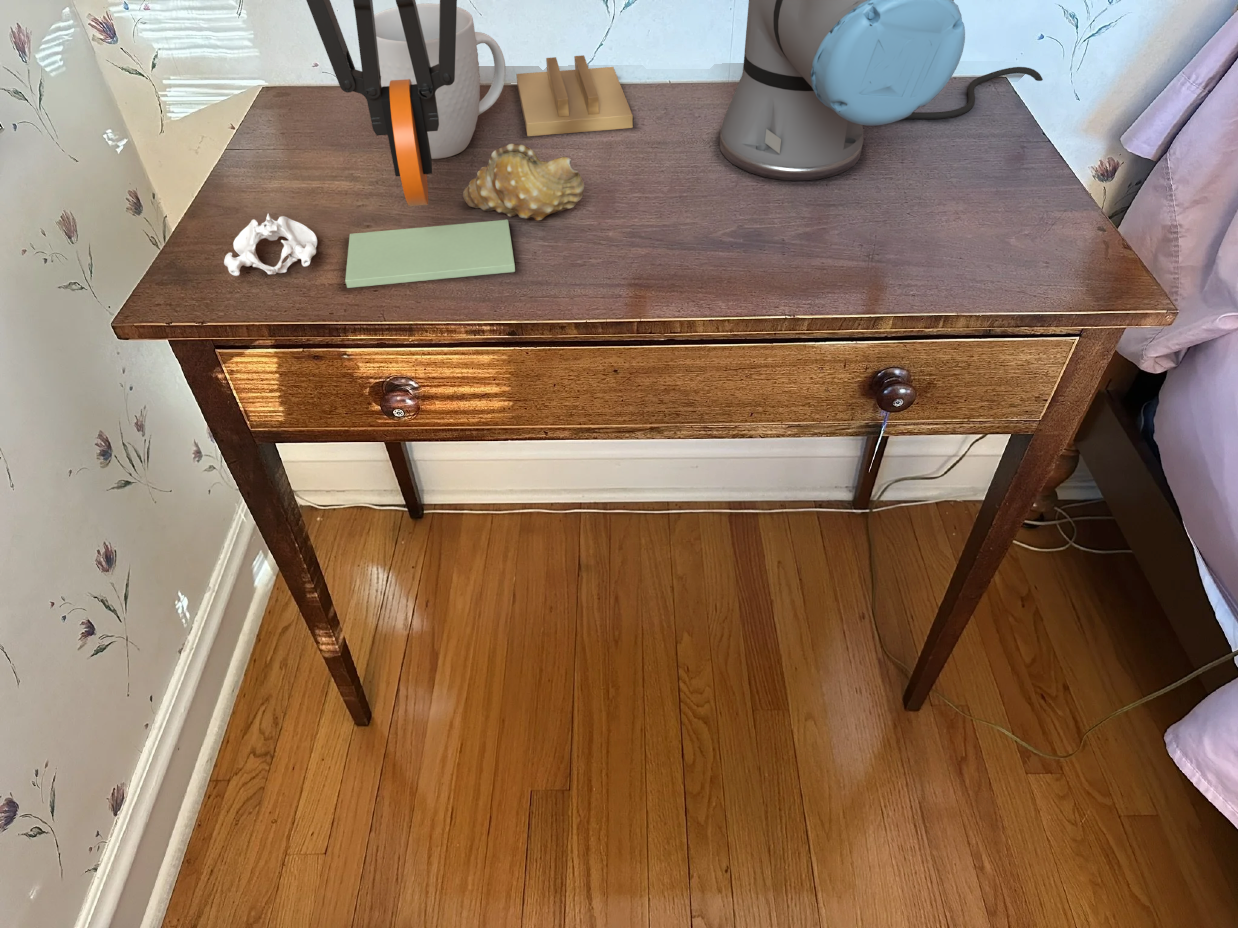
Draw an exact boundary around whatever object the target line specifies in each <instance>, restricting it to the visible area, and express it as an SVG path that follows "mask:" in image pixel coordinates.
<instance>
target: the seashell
mask: <svg viewBox="0 0 1238 928" xmlns="http://www.w3.org/2000/svg"><path fill="white" fill-rule="evenodd" d="M571 164H572V159H571V158H570V157H566V156H560V157H558V158H554V159H552V160H550V161H549V160H548V161H546V160H545V161H544V160H540V159H539V157H538V156H537V154H536V153H535V151H534V150H533V149H532V148H530V147H529V146H526V145H524V144H521V143H520V144H518V143H509V144H507V145H503V146H501V147H499V148H496V149H494V150H493V151H492V152H491V154H490V157H489V159H488V163H487V166H482V167H481V168H480V169H479V170H478V171H477V172H476V175H477V176H476V177H475V178H472V179H471V180H470V181H469V183H468V186H465V188H464V189H463V192H462V198H463V201H464V202H465V203H466V205H467V206H468V207H469V208H473V209H474V208H475V209H481V211H485V212H486V211H487V212H492V211H496V212H497V213H499V214H501V213H503V214H504V215H506V216H507V217H510V218H512V217H515V216H517V215H518V217H519V218H521V219H526V220H528V219H529V218H533V219H534V220H535V221H542V220H544V219H545V217H547V216H549V215H551V214H555V213H558V212H563V211H565V210H568V209H573V208H574V207H575V206H576V205H577V204H578V202H580V200H582V198H583V196H584V191H585V189H584V188H585V183H584V180H583V179H582V177H581V175H580V173H579V171H578V169H575V170H574V169H573V168H572V166H571Z"/></svg>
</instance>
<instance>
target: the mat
mask: <svg viewBox="0 0 1238 928" xmlns="http://www.w3.org/2000/svg"><path fill="white" fill-rule="evenodd" d="M515 272H516V265H515V258H514V251H513V243H512V237H511V230H510V224H509V219H499V220H487V221H478V222H477V221H476V222H466V223H456V224H455V223H454V224H445V225H444V224H443V225H434V226H433V225H432V226H422V227H412V228H410V227H409V228H400V229H388V230H377V231H366V232H359V233H358V232H357V233H356V232H355V233H349V237H348V247H347V260H346V269H345V280H344V282H345V285H346V289H353V288H363V287H373V286H385V285H393V284H403V283H405V284H406V283H415V282H423V281H424V282H425V281H436V280H446V279H455V278H466V277H476V276H487V275H496V274H497V275H498V274H507V273H508V274H509V273H515Z"/></svg>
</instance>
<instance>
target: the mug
mask: <svg viewBox="0 0 1238 928" xmlns="http://www.w3.org/2000/svg"><path fill="white" fill-rule="evenodd" d="M416 5H417V10H418V14H419V18H420V23H421V27H422V31H423V36H424V40H425V44H426V49H427V53H428V57H429V62H430V66H431V67H432V66H435V65H437V64H439V15H440V3H433V2H432V3H426V2H425V3H416ZM374 19H375V29H376V38H377V47H378V57H379V66H380V75H381V86H382V87H383V86H389V85H390V81H391V80H405V79H410V80H411V82H412V85H413V84H417V83H416V79H415V75H414V71H413V66H412V62H411V58H410V54H409V50H408V46H407V42H406V38H405V34H404V30H403V26H402V22H401V18H400V13H399V9H398V6H394V7H391V8H387V9H385V10H381V11H379V12H377V13H374ZM480 44H485V45H486V46H487V47H488V49H489V50H490V53H491V55H492V58H493V65H494V68H493V69H494V71H493V78H492V82H491V85H490V87H489V90H487V93H486V94H485V95H484V97H483V98H481V95H480V93H481V88H480V87H481V81H480V80H481V75H480V61H479V52H478V47H477V46H478V45H480ZM506 70H507V69H506V61H505V56H504V53H503V51H502V49H501V47H500V45H499V43H498V42H497V41H496V40H495V39H494V38H493V37H492V36H491V35H489V34H487V33H484V32H481V31H476V30H475V22H474V18H473V15H472V14H471V13H470V12H469V11H467V10H466V9H464V8H462V7H459V6H457V14H456V50H455V80H454V82H453V84H451V85H448V86H446V85H444V86H442V87H440V88H438V89H437V90H436V92H435V96H436V103H437V110H438V116H439V127H438V131H429V132H427V133H428V139H429V146H430V152H431V158H432V160H440V159H446V158H450V157H453V156H455V155H458V154H460V153H462V152H464V151H465V150H466V149H467V147H468V146H469V145H470V143H471V140H472V138H473V136H474V133H475V130H476V126H477V123H478V119H479V118H478V116H479V115H481V114H483V113H485V112H486V111H487V110H489V109H490V108H491V107H492V106H493V105H495V103H496V102H497V101H498V99H499V98H500V96H501V94H502V93H503V92H502V91H503V89H504V85H505V82H506Z"/></svg>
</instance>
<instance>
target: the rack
mask: <svg viewBox="0 0 1238 928" xmlns="http://www.w3.org/2000/svg"><path fill="white" fill-rule="evenodd" d="M545 59H546V60H545V62H546V71H538V72H537V71H536V72H522V73H516V74H515V75H516V86H517V93H518V97H519V101H520V107H521V111H522V116H523V122H524V126H525V132H526V136H527V137H537V136H538V137H539V136H548V135H551V136H552V135H562V134H563V135H564V134H574V133H575V134H577V133H586V132H587V133H589V132H600V131H611V130H612V131H614V130H625V129H633V128H634V121H633V119H634V115H633V112H632V110H631V108H630V105H629V102H628V100H627V97H626V95H625V93H624V90H623V87H622V85H621V82H620V79H619V78H618V74H617V72H616V70H615V67H614V66H605V67H591V68H589V65H588V62H587V60H586V56H585V55H574V57H573V59H574V69H564V70H561V69H560V66H559V63H558V59H557V57H555V56H554V57H546V58H545Z"/></svg>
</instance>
